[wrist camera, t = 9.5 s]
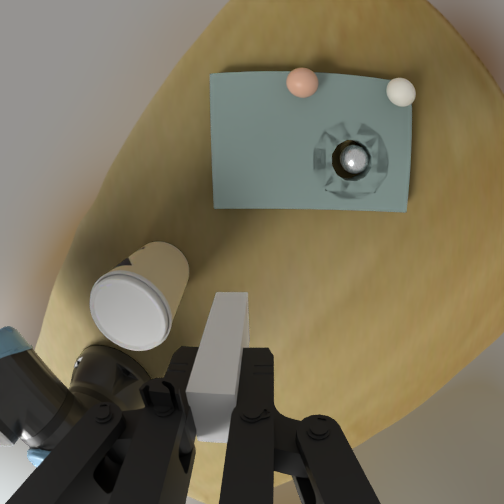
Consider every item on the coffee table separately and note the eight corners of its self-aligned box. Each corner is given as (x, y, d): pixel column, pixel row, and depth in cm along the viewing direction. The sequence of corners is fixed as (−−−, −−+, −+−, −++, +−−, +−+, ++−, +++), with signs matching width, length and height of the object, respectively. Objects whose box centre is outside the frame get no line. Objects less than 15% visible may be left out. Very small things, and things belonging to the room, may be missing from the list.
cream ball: (382, 105, 29) (392, 103, 26) (381, 77, 28) (392, 73, 25) (408, 109, 29) (420, 107, 26) (408, 82, 28) (420, 78, 25)
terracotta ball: (285, 99, 30) (287, 95, 27) (285, 70, 29) (286, 64, 26) (316, 99, 30) (320, 96, 27) (315, 71, 28) (320, 65, 25)
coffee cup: (145, 221, 38) (100, 257, 27) (208, 258, 40) (184, 308, 29) (121, 276, 42) (79, 323, 31) (178, 310, 43) (150, 366, 32)
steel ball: (333, 172, 33) (356, 175, 31) (334, 143, 32) (357, 145, 30) (350, 171, 35) (373, 174, 33) (351, 144, 34) (374, 146, 32)
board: (217, 203, 37) (213, 208, 35) (214, 77, 32) (209, 73, 29) (398, 207, 36) (406, 212, 33) (403, 86, 30) (411, 83, 28)
